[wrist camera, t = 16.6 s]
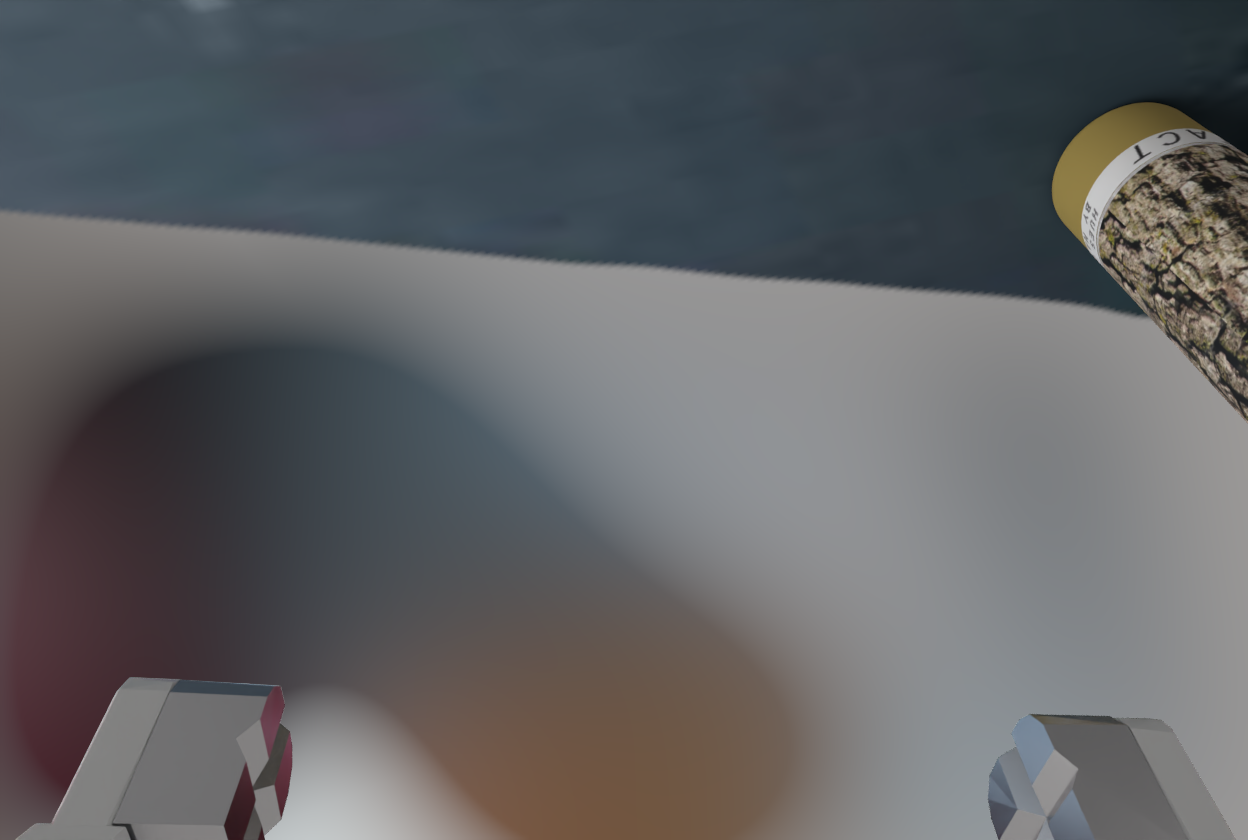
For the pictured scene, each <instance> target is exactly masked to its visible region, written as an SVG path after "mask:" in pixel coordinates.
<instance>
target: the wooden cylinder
mask: <svg viewBox="0 0 1248 840" xmlns="http://www.w3.org/2000/svg"><path fill="white" fill-rule="evenodd" d="M1052 198H1053V203H1054V206H1055V209H1056V211H1057V214H1058V216H1059V217H1060V219H1061V220H1062V222H1063V223H1064V224H1065V225H1066V226H1067V227H1068V228H1069V229H1070V231H1071V232H1072V233H1073V234H1074V235H1075V236H1076V237H1077V238H1078V239H1079V240H1080V241H1081V242H1082V244H1083V245H1084V246H1085V247H1086V248H1087V249H1088V250H1089V251H1090V253H1091V254H1092V255H1093V256H1094V257H1095V258H1096V260H1097V261H1098V262H1099V263H1100V264H1101V265H1102V266H1103V267H1104V268H1105V269H1106V270H1107V271H1108V273H1109V274H1110V275H1111V276H1112V277H1113V278H1114V279H1115V280H1116V281H1117V282H1118V283H1119V284H1120V286H1121V287H1122V288H1123V289H1124V290H1125V291H1126V292H1127V293H1128V294H1129V295H1130V296H1131V297H1132V299H1133V300H1134V301H1135V302H1136V303H1137V304H1138V305H1139V306H1140V307H1141V308H1142V309H1143V310H1144V312H1145V313H1146V314H1147V315H1148V316H1149V317H1150V318H1151V319H1152V320H1153V321H1154V322H1155V323H1156V325H1158V327H1159V328H1160V329H1161V330H1162V331H1163V332H1164V333H1165V334H1166V335H1167V336H1168V338H1170V340H1171V341H1172V342H1173V343H1174V344H1175V345H1176V346H1177V347H1178V348H1179V349H1180V350H1181V352H1183V354H1184V355H1185V356H1186V357H1187V358H1188V359H1189V360H1190V361H1191V362H1192V363H1193V365H1194V366H1195V367H1196V368H1197V369H1198V370H1199V371H1200V372H1201V373H1202V374H1203V375H1204V376H1205V378H1206V379H1207V380H1208V381H1209V382H1210V383H1211V384H1212V385H1213V386H1214V387H1215V388H1216V389H1217V391H1218V392H1220V394H1221V395H1222V396H1223V397H1224V398H1225V399H1226V400H1227V401H1228V402H1229V404H1230V405H1231V406H1232V407H1233V408H1234V409H1235V410H1236V411H1237V412H1238V413H1239V414H1240V415H1241V417H1242V418H1243V419H1244V420H1245V421H1246V422H1247V423H1248V156H1247V155H1246V154H1244V153H1243V152H1241V151H1240V150H1238V149H1237V148H1235V147H1234V146H1232V145H1231V144H1229V143H1228V142H1226V141H1225V140H1223V139H1222V138H1220V137H1219V136H1217V135H1215V134H1213V133H1212V132H1210V131H1209V130H1207V129H1206V128H1204V127H1203V126H1201V125H1200V124H1198V123H1197V122H1196V121H1194V120H1193V119H1191V118H1190V117H1188V116H1187V115H1185V114H1184V113H1182V112H1181V111H1179V110H1177V109H1175V108H1173V107H1170V106H1167V105H1164V104H1160V103H1152V102H1143V103H1134V104H1129V105H1125V106H1122V107H1119V108H1116V109H1114V110H1112V111H1109V112H1107V113H1105V114H1104V115H1102V116H1100V117H1098V118H1097V119H1095V120H1094V121H1092V122H1091V123H1090V124H1088V125H1087V126H1086V127H1085V128H1083V129H1082V130H1081V131H1080V132H1079V133H1078V134H1077V135H1076V136H1075V138H1074V139H1073V140H1072V141H1071V142H1070V144H1069V145H1068V146H1067V148H1066V149H1065V151H1064V153H1063V154H1062V156H1061V158H1060V160H1059V162H1058V165H1057V167H1056V170H1055V173H1054V177H1053V182H1052Z"/></svg>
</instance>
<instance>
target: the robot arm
mask: <svg viewBox="0 0 1248 840" xmlns="http://www.w3.org/2000/svg"><path fill="white" fill-rule="evenodd" d="M284 708H285V702H284V698H283V694H282V690H281V686H273V685H258V684H241V683H224V682H208V681H190V680H178V679H155V678H132V677H130V678H129V679H128V680H127V681H126V682H125V683H124V684H123V685H122V686H121V688H120V689H119V690H118V691H117V692H116V694H115V696H114V698H113V700H112V702H111V704H110V706H109V708H108V710H107V712H106V714H105V716H104V718H103V720H102V722H101V724H100V726H99V728H98V730H97V732H96V734H95V736H94V738H93V740H92V742H91V744H90V746H89V748H88V750H87V752H86V754H85V757H84V758H83V761H82V762H81V764H80V766H79V768H78V770H77V772H76V775H75V777H74V779H73V781H72V783H71V785H70V787H69V789H68V791H67V793H66V795H65V797H64V799H63V801H62V803H61V805H60V807H59V809H58V811H57V813H56V815H55V817H54V819H53V821H52V823H51V824H35V825H33V826H32V827H31V828H29V829H28V830H27V831H26V832H25V833H23V834H22V835H21V836H20V837H18V838H17V839H16V840H265V838H264V835H265V834H267V833H268V832H269V831H270V830H271V829H272V828H273V827H274V826H275V825H276V824H277V823H278V822H279V821H280V820H281V819H282V815H283V811H284V807H285V803H286V800H287V796H288V792H289V785H290V777H291V771H292V741H291V734H290V731H289V730H288V729H286V728H285V727H284V726H283V725H281V724H280V721H281V718H282V714H283V711H284ZM1012 737H1013V739H1014V742H1015V744H1016V747H1015V748H1013V749H1011V750H1010V751H1008V752H1006V753H1005V754H1003V755H1001V756H1000V757H998V759H997V761H996V763H995V765H994V767H993V769H992V771H991V773H990V776H989V790H988V803H989V808H990V814H991V820H992V822H993V825H994V828H995V831H996V834H997V837H998V840H1236V839H1235V837H1234V835H1233V834H1232V832H1231V830H1230V828H1229V826H1228V825H1227V823H1226V821H1225V820H1224V818H1223V816H1222V814H1221V813H1220V811H1219V809H1218V807H1217V806H1216V804H1215V802H1214V801H1213V799H1212V797H1211V795H1210V794H1209V792H1208V790H1207V788H1206V787H1205V785H1204V783H1203V781H1202V780H1201V778H1200V776H1199V774H1198V773H1197V771H1196V769H1195V768H1194V766H1193V764H1192V762H1191V761H1190V759H1189V757H1188V756H1187V754H1186V752H1185V750H1184V749H1183V747H1182V746H1181V743H1180V742H1179V740H1178V738H1177V736H1176V735H1175V733H1174V732H1173V730H1172V729H1171V728H1170V727H1169V726H1168V725H1167V724H1166V723H1164V722H1163V721H1162V720H1158V719H1146V718H1112V717H1110V716H1082V715H1081V716H1080V715H1040V714H1029V715H1027V716H1025V717H1023V718H1021V719H1019V721H1018V723H1017V724H1016V726H1015V728H1014V729H1013V731H1012Z"/></svg>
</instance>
